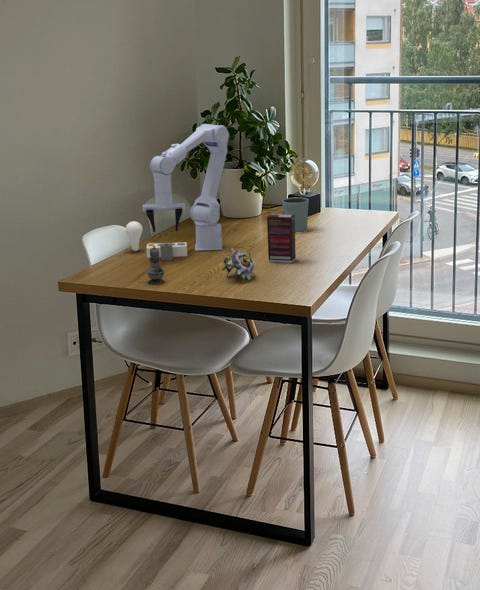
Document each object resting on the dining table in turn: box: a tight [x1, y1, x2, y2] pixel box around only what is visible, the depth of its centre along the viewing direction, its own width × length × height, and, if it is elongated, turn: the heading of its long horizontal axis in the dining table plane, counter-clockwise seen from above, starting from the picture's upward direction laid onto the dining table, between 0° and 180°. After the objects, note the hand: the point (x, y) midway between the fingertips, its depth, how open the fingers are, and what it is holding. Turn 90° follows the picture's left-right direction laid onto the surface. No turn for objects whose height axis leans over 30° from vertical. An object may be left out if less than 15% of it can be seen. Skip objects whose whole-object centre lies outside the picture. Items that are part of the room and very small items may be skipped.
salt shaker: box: [146, 246, 166, 285], centre depth 282 cm, size 6×6×12 cm
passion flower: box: [222, 247, 256, 281], centre depth 284 cm, size 11×11×12 cm
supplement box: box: [266, 213, 297, 264], centre depth 301 cm, size 9×5×16 cm, turn 71°
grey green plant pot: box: [281, 196, 310, 234], centre depth 343 cm, size 10×10×12 cm
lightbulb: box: [125, 220, 144, 252], centre depth 320 cm, size 6×6×11 cm
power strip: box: [146, 241, 188, 259], centre depth 315 cm, size 14×6×4 cm, turn 94°
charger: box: [160, 242, 174, 262], centre depth 310 cm, size 4×6×5 cm
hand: (165, 230), depth 307 cm, fingers open, 7 cm apart
